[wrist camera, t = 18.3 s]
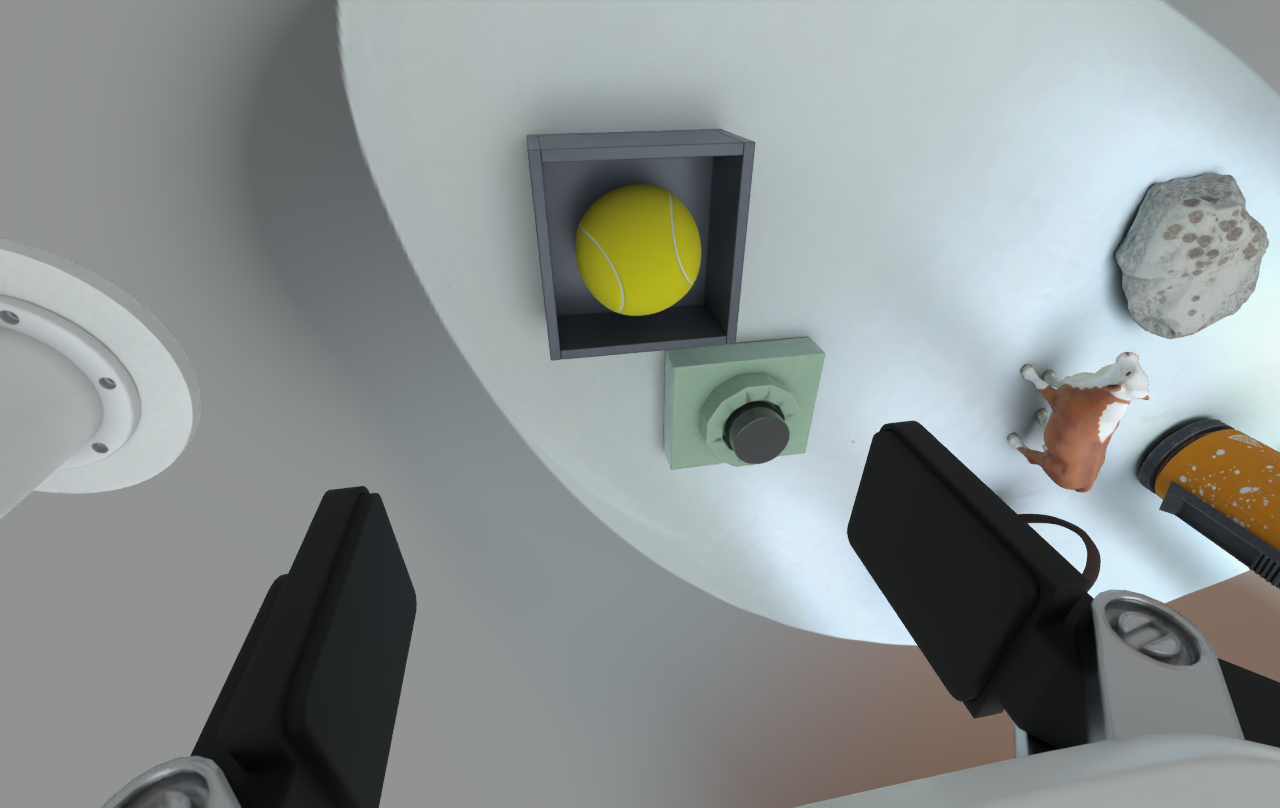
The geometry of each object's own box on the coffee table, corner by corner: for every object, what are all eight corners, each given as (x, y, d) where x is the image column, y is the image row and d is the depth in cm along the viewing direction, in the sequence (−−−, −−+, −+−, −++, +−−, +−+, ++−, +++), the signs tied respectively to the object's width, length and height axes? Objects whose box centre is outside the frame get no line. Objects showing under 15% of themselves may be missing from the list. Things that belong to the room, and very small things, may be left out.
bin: (547, 321, 36) (550, 360, 31) (526, 135, 30) (527, 149, 25) (709, 308, 38) (735, 344, 33) (721, 128, 32) (755, 141, 27)
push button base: (663, 448, 44) (676, 485, 40) (665, 349, 39) (680, 380, 35) (791, 433, 45) (815, 467, 42) (809, 336, 40) (838, 365, 37)
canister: (1200, 469, 59) (1465, 632, 42) (1104, 499, 59) (1332, 675, 42) (1231, 404, 54) (1546, 560, 37) (1126, 437, 54) (1395, 609, 37)
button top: (722, 449, 39) (731, 467, 38) (726, 404, 37) (736, 420, 36) (774, 443, 40) (785, 460, 38) (781, 398, 38) (793, 414, 36)
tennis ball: (595, 304, 35) (609, 353, 30) (552, 199, 31) (559, 232, 26) (695, 265, 35) (729, 307, 29) (665, 155, 31) (698, 178, 25)
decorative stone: (1263, 216, 42) (1344, 234, 38) (1148, 335, 47) (1210, 363, 42) (1181, 145, 37) (1263, 157, 33) (1063, 285, 42) (1122, 310, 38)
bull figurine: (1079, 317, 44) (1180, 364, 37) (1037, 444, 52) (1114, 502, 45) (1029, 329, 44) (1122, 379, 37) (994, 455, 51) (1066, 515, 45)
